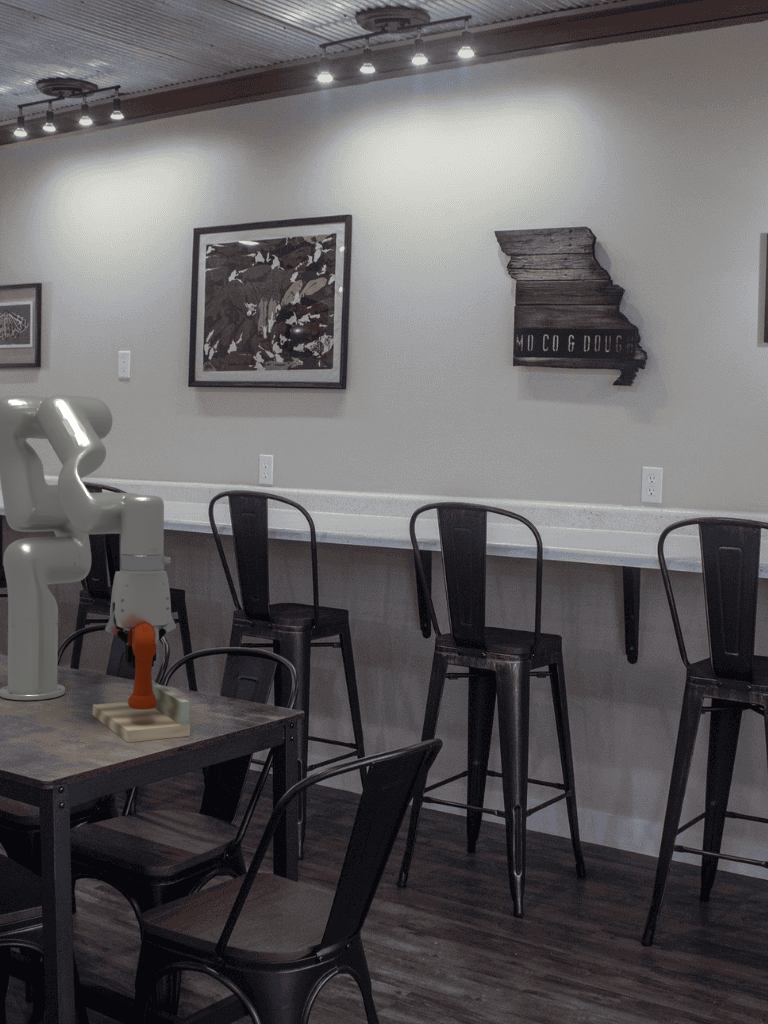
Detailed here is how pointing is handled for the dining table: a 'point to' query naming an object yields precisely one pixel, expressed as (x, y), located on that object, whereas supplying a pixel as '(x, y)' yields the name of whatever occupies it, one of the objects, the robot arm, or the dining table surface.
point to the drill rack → (147, 717)
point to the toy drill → (143, 666)
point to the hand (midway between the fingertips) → (140, 665)
